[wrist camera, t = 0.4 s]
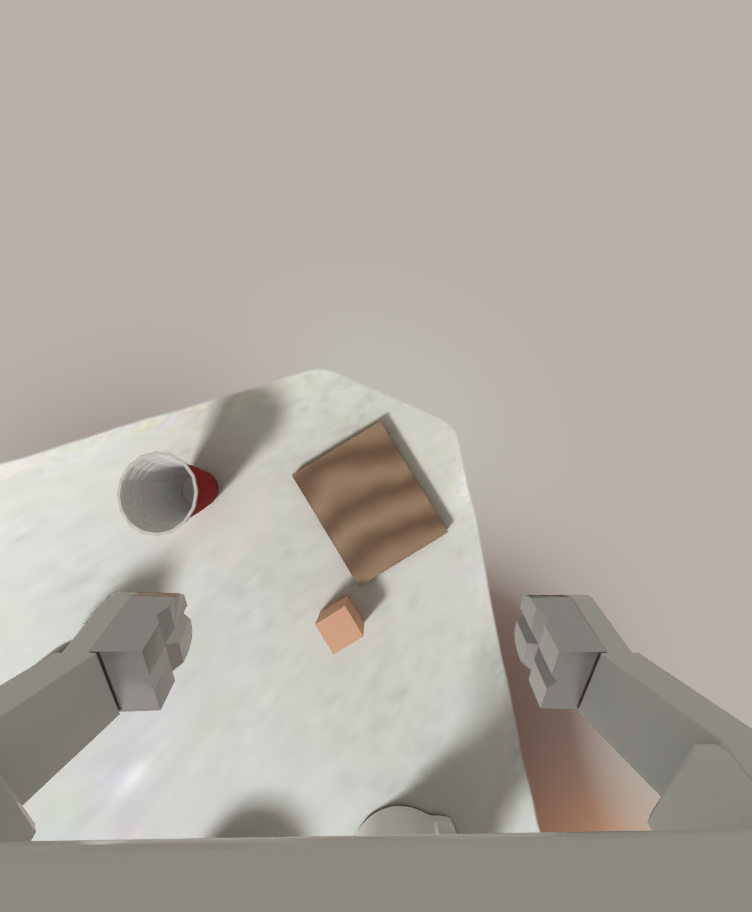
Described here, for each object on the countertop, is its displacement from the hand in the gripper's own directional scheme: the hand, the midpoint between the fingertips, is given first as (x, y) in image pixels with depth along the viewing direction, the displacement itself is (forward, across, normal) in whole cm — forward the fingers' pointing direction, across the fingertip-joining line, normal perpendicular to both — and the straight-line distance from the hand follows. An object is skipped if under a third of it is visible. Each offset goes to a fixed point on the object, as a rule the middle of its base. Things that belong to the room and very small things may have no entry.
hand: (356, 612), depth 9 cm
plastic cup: (+47, -26, -24) cm, 59 cm away
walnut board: (+45, +1, -25) cm, 51 cm away
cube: (+37, -2, -41) cm, 55 cm away
